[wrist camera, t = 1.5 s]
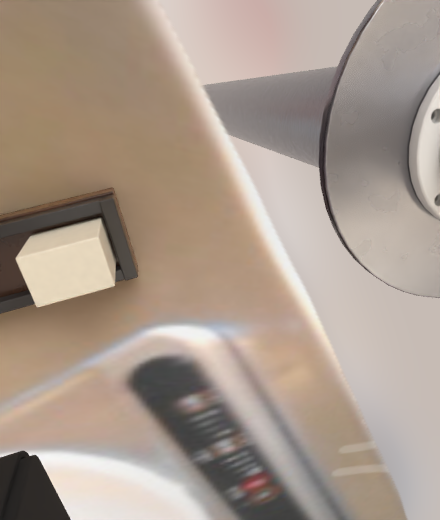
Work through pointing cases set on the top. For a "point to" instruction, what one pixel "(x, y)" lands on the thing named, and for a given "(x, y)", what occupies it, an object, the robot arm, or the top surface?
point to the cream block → (68, 262)
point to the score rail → (50, 217)
